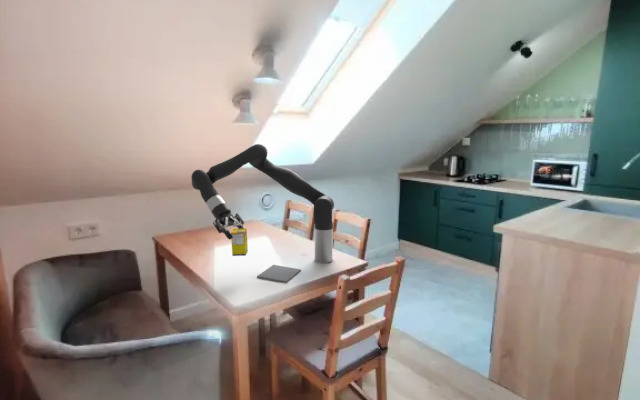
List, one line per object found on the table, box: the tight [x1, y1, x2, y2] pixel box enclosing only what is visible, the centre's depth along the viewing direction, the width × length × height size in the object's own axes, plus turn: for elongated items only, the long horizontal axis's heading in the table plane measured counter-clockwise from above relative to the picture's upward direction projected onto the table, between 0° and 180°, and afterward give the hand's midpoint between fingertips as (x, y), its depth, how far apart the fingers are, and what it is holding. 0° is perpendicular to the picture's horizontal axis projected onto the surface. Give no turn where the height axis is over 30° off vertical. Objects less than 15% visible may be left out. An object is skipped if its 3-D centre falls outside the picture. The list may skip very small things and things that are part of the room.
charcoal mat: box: [256, 264, 302, 284], centre depth 172 cm, size 15×15×1 cm
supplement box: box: [230, 228, 249, 257], centre depth 164 cm, size 6×6×11 cm
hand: (237, 236), depth 164 cm, fingers closed on supplement box, 7 cm apart
